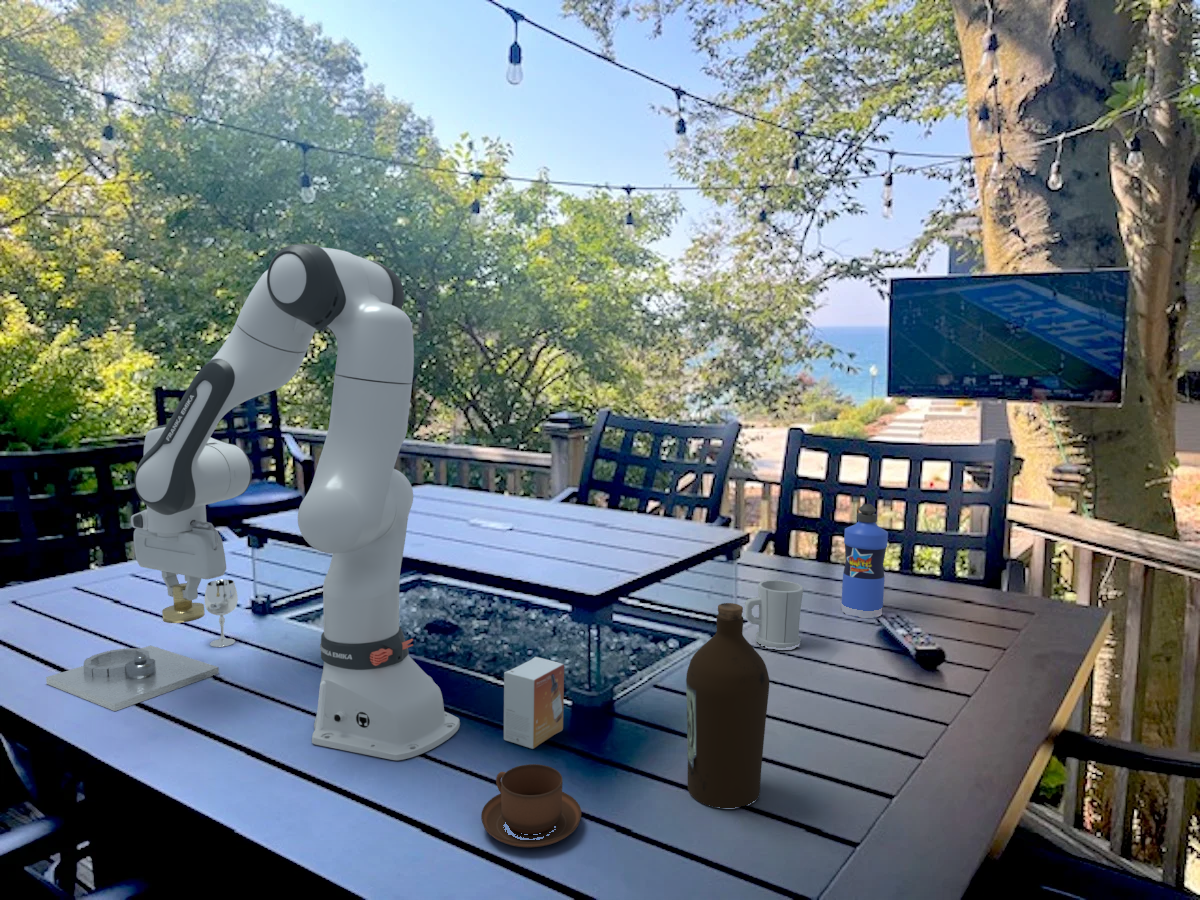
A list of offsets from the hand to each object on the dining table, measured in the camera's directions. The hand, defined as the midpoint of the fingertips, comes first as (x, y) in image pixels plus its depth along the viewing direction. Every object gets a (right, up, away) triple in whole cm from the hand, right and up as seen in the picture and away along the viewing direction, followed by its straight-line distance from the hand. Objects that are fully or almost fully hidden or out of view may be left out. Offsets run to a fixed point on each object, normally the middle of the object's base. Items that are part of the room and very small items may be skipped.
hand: (182, 597), depth 138 cm
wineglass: (-2, -12, +18) cm, 22 cm away
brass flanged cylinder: (0, -3, 0) cm, 3 cm away
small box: (+62, -18, -17) cm, 67 cm away
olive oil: (+88, -20, -32) cm, 96 cm away
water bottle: (+131, -12, +46) cm, 140 cm away
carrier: (-9, -14, 0) cm, 16 cm away
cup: (+107, -14, +24) cm, 110 cm away
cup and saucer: (+63, -20, -41) cm, 78 cm away
